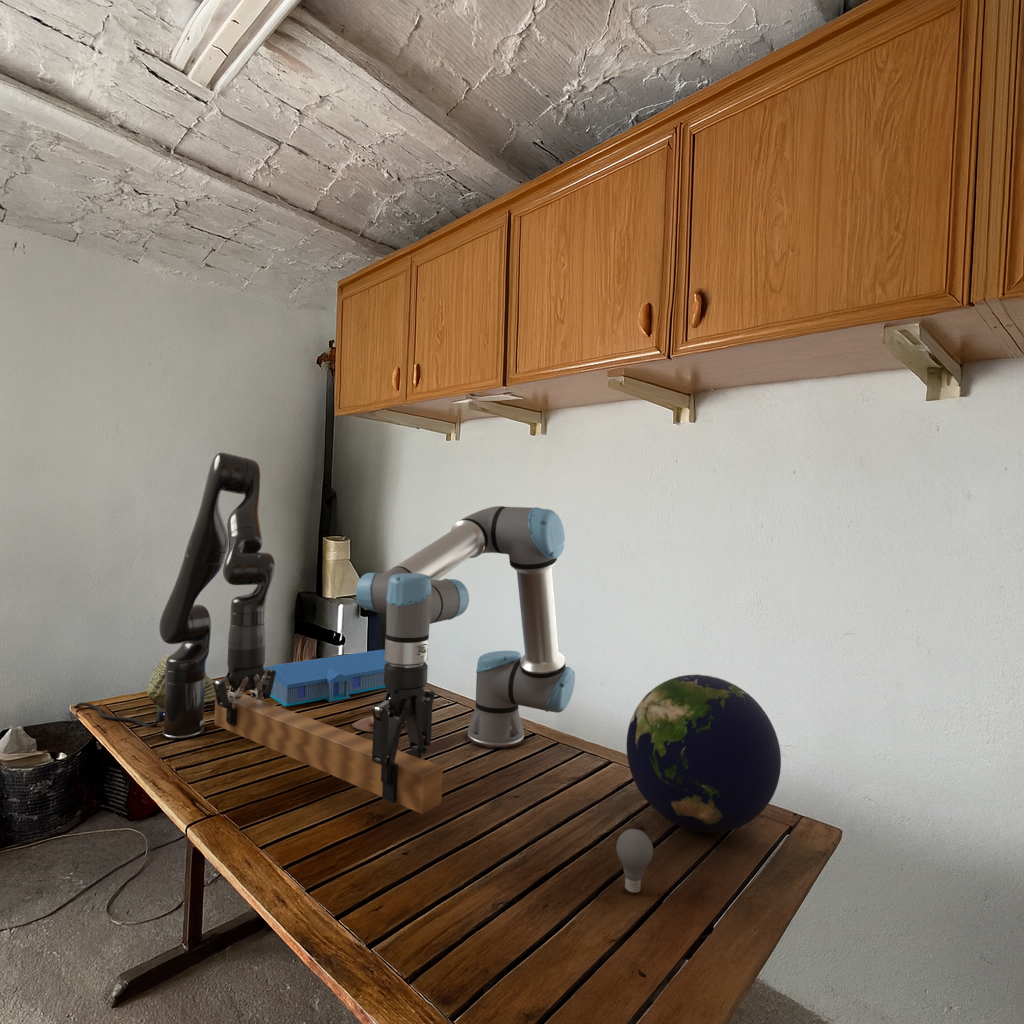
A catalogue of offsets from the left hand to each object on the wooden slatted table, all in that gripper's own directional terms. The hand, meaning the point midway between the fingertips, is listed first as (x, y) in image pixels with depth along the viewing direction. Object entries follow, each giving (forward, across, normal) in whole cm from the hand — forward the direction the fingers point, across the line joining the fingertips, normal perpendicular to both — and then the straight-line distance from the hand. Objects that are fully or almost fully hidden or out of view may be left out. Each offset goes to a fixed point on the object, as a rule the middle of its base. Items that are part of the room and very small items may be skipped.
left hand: (244, 721), depth 138 cm
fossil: (+14, +18, +57) cm, 61 cm away
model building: (+14, +58, +39) cm, 71 cm away
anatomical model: (+14, +44, +3) cm, 46 cm away
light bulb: (+14, +18, -84) cm, 87 cm away
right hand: (+2, 0, -47) cm, 47 cm away
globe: (+13, +47, -86) cm, 98 cm away
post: (+2, 0, -24) cm, 24 cm away
